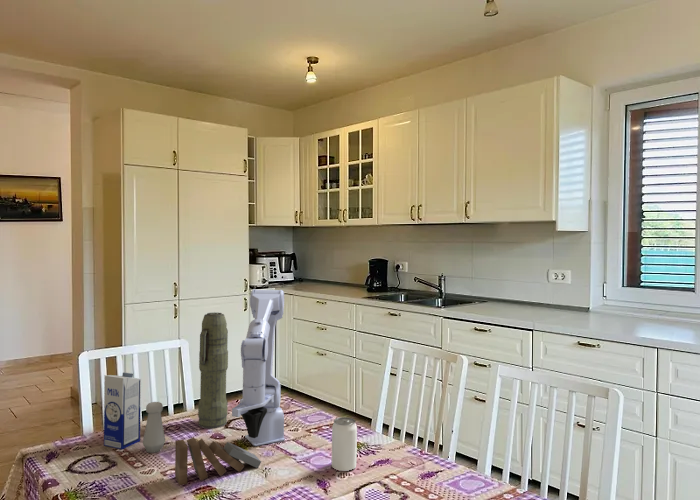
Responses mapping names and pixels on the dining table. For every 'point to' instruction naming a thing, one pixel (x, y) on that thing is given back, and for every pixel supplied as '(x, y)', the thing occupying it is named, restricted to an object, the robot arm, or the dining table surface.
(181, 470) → the domino
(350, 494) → the dining table surface
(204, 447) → the domino
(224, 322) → the thermos
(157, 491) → the dining table surface
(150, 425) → the salt shaker
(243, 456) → the domino
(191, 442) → the domino
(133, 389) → the milk carton
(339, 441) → the can
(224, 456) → the domino
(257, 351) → the robot arm
